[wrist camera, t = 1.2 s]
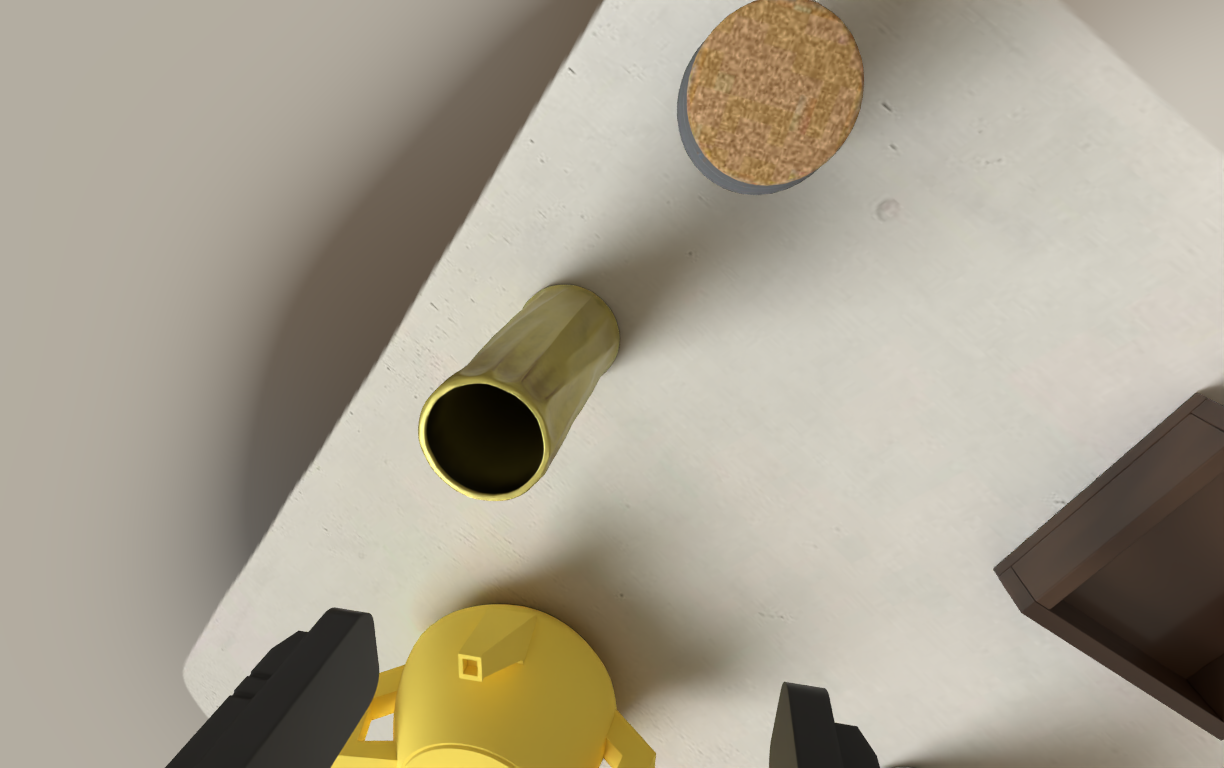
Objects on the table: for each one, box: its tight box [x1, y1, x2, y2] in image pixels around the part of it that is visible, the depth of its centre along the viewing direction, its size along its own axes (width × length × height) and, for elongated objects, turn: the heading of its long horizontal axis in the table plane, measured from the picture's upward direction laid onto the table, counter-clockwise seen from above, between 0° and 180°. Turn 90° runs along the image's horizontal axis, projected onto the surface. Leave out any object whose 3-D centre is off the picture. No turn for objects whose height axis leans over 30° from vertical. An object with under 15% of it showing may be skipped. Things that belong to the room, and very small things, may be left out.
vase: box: [418, 285, 620, 501], centre depth 29 cm, size 6×6×14 cm
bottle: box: [677, 0, 864, 195], centre depth 24 cm, size 6×6×15 cm
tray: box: [993, 393, 1224, 741], centre depth 33 cm, size 14×14×4 cm
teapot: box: [331, 604, 656, 768], centre depth 41 cm, size 17×17×12 cm
